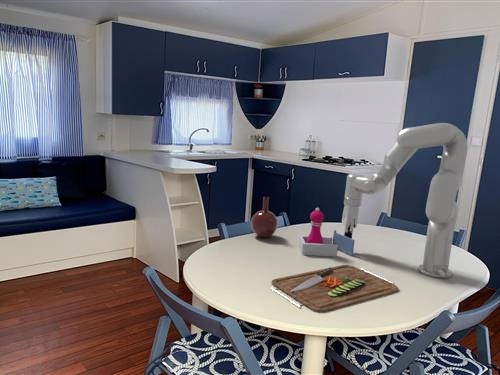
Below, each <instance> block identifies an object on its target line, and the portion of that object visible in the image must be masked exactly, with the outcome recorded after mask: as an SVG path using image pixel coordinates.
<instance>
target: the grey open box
mask: <svg viewBox="0 0 500 375" xmlns="http://www.w3.org/2000/svg"><path fill="white" fill-rule="evenodd" d="M308 236H309V235H299V236H298V248H299V250H300V253H301V255H302V256H321V257H322V256H323V257H337V256H338V245H335V244H333V236H322V238H323V244H314V243H307V238H308Z"/></svg>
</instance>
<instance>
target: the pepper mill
mask: <svg viewBox="0 0 500 375" xmlns="http://www.w3.org/2000/svg"><path fill="white" fill-rule="evenodd" d="M309 218H310V220H311V221H310V225H311V228H310V229H311V230H310V232H309V234H308V235H307V236H308V238H307V243H314V244H323V238H322V237H323V235H322V233H321V228H322V226H323V220H324V218H325V215H324V213H323V212H322V211H320V208H319V207H316V208H315V210H313V211H312V212H311V213H310V217H309Z"/></svg>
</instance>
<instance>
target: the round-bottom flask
mask: <svg viewBox="0 0 500 375" xmlns="http://www.w3.org/2000/svg"><path fill="white" fill-rule="evenodd" d="M262 198H263V199H262V210H259V211H257V212H256V213H255V214H254V215H253V216H252V218H251V220H250V228H251V229H252V231H253V233H254V234H255V235H256V236H257V237H260V238H269V237H271V236H273V235H274V234H275V233H276V231H277V230H278V224H279V222H278V218H277V216H276V215H275V214H274V213H273V212H272V211H270V210H269V199H270V197H269V196H265V195H264V196H262Z"/></svg>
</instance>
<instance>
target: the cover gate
mask: <svg viewBox="0 0 500 375" xmlns="http://www.w3.org/2000/svg"><path fill="white" fill-rule="evenodd" d="M332 244H335V245H338V249H337V251H338V250H339V251H341V252H342V253H345V254H347V255H349V256H354V249H355V248H354V247H355V239H353V238H352V239H351V238H348V237H346V236H344V234H341V233H338V232H337V229H333V235H332Z"/></svg>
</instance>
